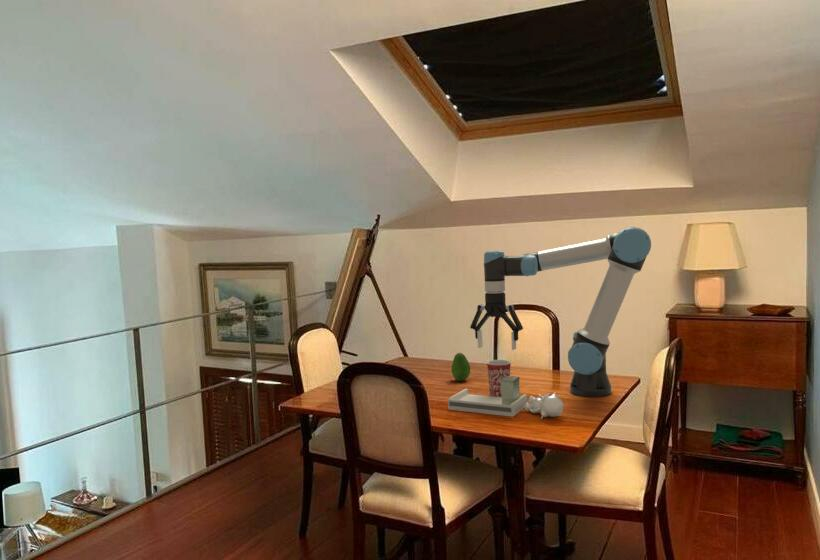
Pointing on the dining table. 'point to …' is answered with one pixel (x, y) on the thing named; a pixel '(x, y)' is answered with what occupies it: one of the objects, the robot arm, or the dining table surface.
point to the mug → (497, 375)
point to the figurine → (545, 405)
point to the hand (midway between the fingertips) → (496, 348)
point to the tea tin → (510, 389)
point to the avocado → (460, 367)
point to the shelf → (485, 404)
